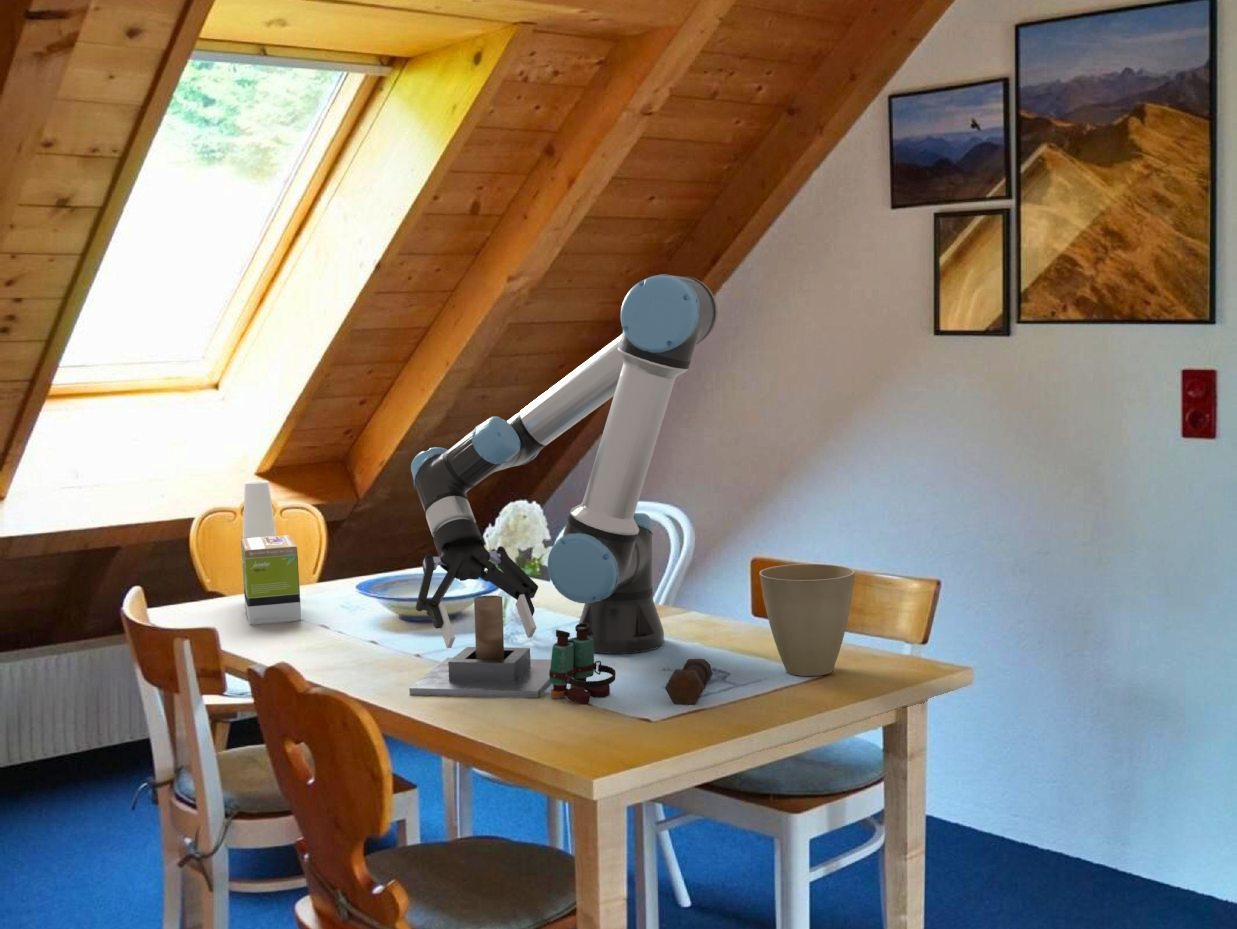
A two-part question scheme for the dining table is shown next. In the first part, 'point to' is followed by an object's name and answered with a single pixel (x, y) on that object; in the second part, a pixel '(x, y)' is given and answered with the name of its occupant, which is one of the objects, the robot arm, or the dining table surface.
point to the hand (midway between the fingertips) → (492, 638)
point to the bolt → (689, 682)
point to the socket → (487, 676)
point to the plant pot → (808, 613)
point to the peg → (489, 627)
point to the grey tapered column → (258, 510)
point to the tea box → (271, 579)
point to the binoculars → (577, 668)
